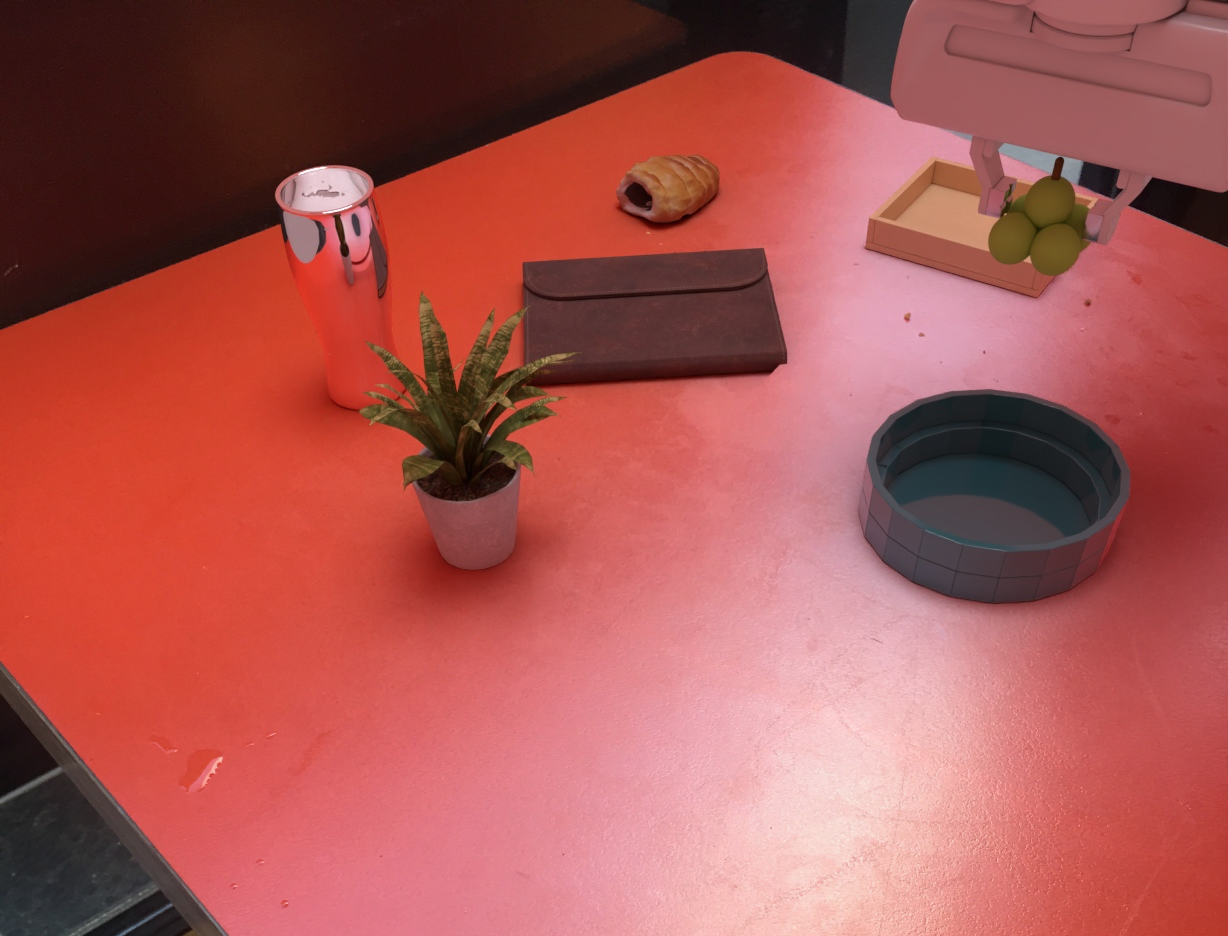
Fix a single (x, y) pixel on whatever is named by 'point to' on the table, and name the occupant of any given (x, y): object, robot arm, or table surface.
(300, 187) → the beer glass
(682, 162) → the pastry
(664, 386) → the table surface
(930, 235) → the tray
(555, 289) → the notebook
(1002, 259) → the grapes
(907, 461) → the bowl
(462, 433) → the house plant
